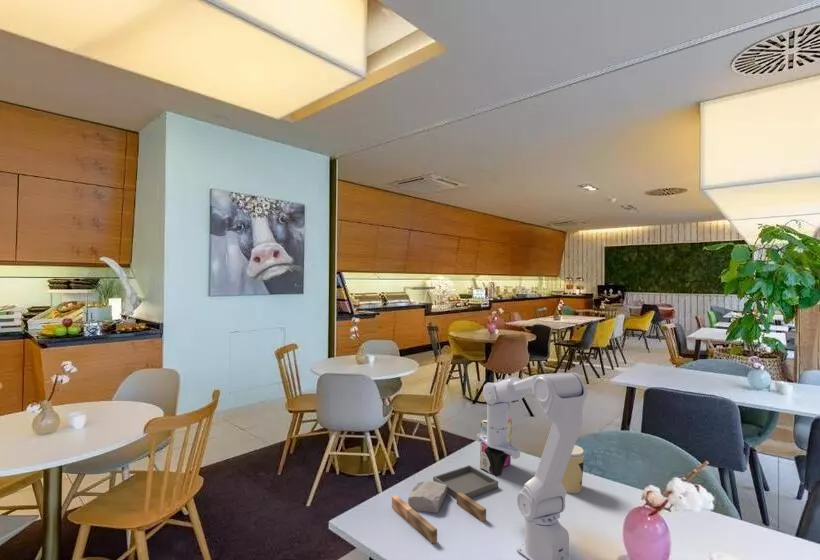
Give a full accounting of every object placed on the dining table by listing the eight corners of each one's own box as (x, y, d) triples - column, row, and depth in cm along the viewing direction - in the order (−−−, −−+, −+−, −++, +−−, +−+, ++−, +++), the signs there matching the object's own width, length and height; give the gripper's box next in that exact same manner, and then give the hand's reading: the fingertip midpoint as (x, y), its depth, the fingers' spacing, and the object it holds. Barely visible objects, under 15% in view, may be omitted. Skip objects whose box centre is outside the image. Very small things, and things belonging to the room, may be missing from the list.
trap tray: (498, 487, 127) (498, 481, 127) (460, 502, 119) (460, 495, 119) (469, 471, 138) (469, 465, 138) (433, 483, 130) (433, 476, 130)
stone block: (406, 515, 116) (440, 514, 113) (403, 497, 116) (437, 496, 113) (418, 496, 127) (450, 494, 124) (416, 480, 127) (447, 478, 124)
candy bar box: (491, 474, 136) (491, 424, 136) (479, 469, 140) (479, 420, 140) (511, 464, 143) (512, 417, 143) (500, 459, 147) (500, 414, 147)
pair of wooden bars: (486, 520, 110) (486, 508, 110) (432, 543, 100) (432, 531, 100) (442, 489, 126) (442, 479, 126) (391, 507, 116) (391, 496, 116)
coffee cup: (587, 496, 123) (588, 455, 123) (555, 493, 125) (555, 453, 125) (580, 480, 132) (580, 443, 132) (549, 478, 134) (550, 441, 134)
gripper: (528, 431, 110) (527, 481, 110) (489, 415, 122) (488, 461, 122) (509, 436, 106) (509, 489, 106) (471, 420, 118) (471, 467, 118)
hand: (497, 475), depth 114 cm, fingers closed
